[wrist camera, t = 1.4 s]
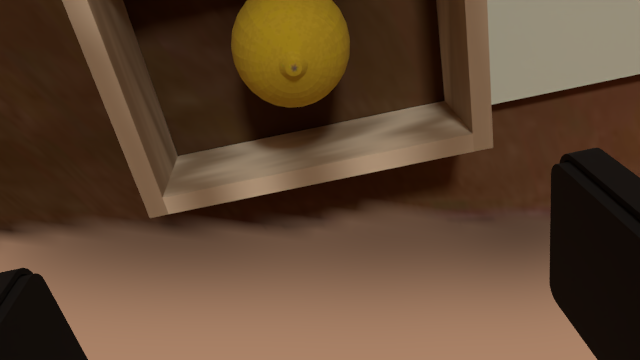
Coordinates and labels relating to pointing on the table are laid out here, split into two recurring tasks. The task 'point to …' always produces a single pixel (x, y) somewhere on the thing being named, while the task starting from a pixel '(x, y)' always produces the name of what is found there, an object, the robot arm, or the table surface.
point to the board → (560, 44)
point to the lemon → (290, 49)
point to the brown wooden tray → (292, 148)
